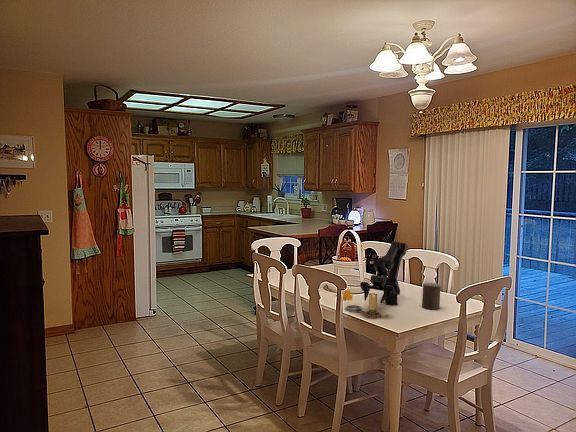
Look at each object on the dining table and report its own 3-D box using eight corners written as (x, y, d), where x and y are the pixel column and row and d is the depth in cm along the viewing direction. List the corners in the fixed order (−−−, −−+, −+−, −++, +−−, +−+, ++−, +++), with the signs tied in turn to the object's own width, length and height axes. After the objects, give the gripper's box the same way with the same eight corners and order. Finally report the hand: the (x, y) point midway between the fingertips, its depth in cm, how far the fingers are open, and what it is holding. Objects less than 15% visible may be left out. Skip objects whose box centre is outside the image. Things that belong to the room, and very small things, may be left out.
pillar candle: (428, 310, 244) (429, 284, 243) (418, 305, 254) (419, 280, 252) (443, 309, 247) (444, 283, 246) (433, 304, 256) (434, 279, 255)
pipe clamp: (352, 300, 265) (352, 289, 264) (346, 301, 263) (346, 290, 263) (342, 295, 276) (342, 285, 275) (336, 296, 274) (336, 286, 274)
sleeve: (376, 315, 235) (377, 293, 234) (376, 317, 230) (377, 295, 229) (368, 314, 235) (368, 293, 235) (368, 317, 231) (368, 295, 230)
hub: (362, 307, 248) (362, 305, 248) (363, 312, 239) (363, 310, 239) (345, 306, 250) (345, 304, 250) (344, 311, 240) (344, 309, 240)
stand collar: (380, 314, 237) (380, 311, 236) (381, 319, 228) (381, 316, 228) (364, 313, 238) (364, 310, 238) (364, 318, 229) (364, 315, 229)
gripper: (361, 267, 241) (352, 290, 232) (394, 271, 231) (386, 295, 222) (366, 278, 248) (358, 301, 239) (398, 283, 238) (390, 307, 229)
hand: (372, 301), depth 232 cm, fingers open, 9 cm apart
